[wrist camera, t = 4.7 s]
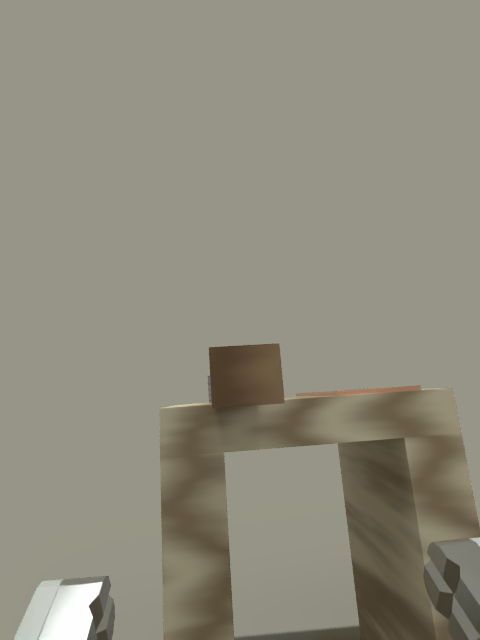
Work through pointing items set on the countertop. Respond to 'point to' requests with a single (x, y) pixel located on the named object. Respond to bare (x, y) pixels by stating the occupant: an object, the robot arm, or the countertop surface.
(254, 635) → the countertop surface
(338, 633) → the countertop surface
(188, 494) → the birch shelf
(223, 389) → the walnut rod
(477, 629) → the robot arm
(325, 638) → the countertop surface
